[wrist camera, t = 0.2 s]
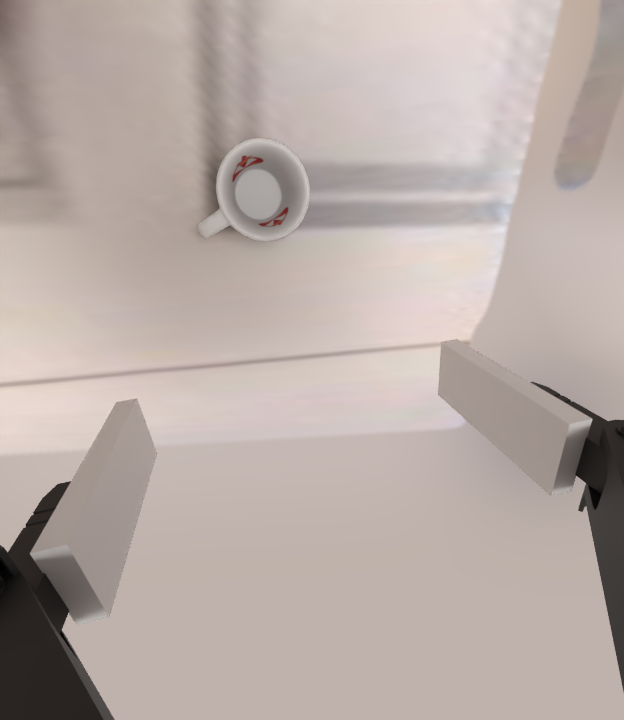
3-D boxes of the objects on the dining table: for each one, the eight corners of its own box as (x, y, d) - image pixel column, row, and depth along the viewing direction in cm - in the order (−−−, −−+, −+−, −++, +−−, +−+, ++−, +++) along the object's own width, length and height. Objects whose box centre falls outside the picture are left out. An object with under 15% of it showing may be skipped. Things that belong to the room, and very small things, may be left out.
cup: (225, 262, 39) (224, 275, 31) (178, 193, 35) (165, 189, 28) (308, 210, 38) (326, 211, 31) (269, 134, 35) (280, 116, 28)
